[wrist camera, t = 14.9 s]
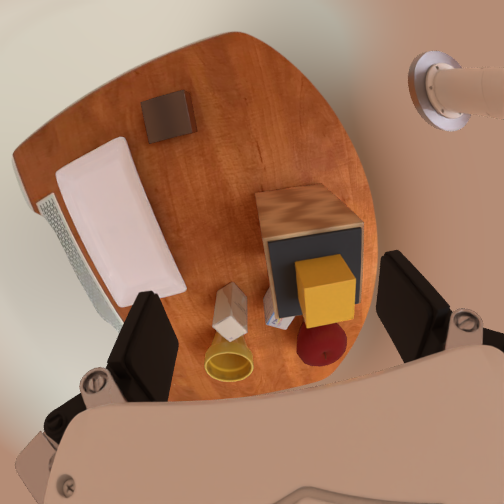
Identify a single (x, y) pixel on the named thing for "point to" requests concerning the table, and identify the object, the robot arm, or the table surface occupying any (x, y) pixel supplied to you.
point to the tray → (118, 224)
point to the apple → (321, 344)
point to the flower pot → (228, 359)
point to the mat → (310, 248)
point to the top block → (325, 290)
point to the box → (230, 312)
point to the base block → (168, 116)
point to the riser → (302, 219)
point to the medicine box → (270, 315)
